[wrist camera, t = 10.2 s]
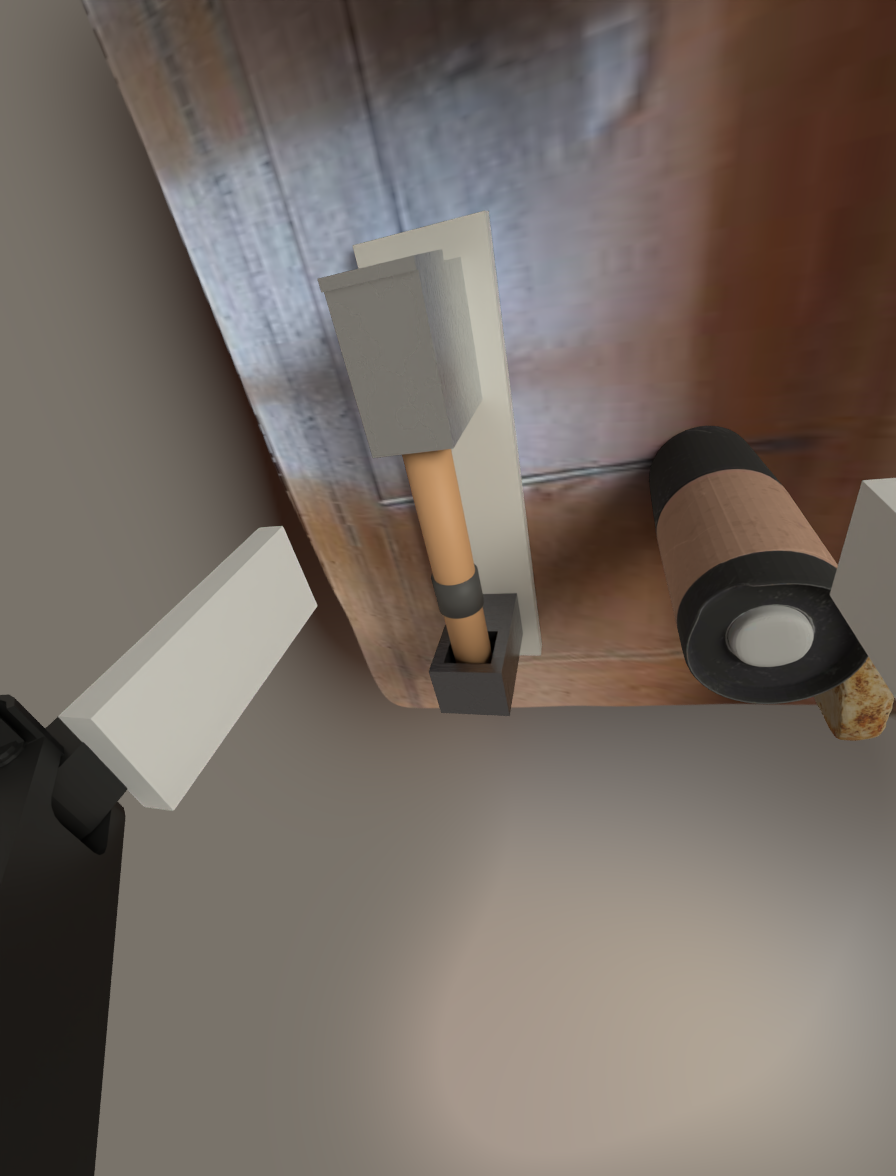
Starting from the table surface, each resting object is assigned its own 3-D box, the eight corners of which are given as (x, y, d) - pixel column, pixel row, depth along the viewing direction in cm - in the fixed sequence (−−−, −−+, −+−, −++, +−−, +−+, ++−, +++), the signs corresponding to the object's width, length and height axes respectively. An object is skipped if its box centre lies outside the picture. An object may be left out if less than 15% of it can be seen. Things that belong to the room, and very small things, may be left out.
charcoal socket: (456, 594, 48) (428, 671, 40) (517, 593, 47) (501, 673, 38) (465, 633, 51) (441, 712, 43) (522, 633, 49) (509, 715, 41)
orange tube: (401, 417, 33) (384, 435, 30) (453, 410, 32) (440, 428, 29) (461, 657, 45) (453, 686, 42) (500, 658, 44) (494, 687, 41)
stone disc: (842, 670, 45) (895, 764, 38) (795, 673, 47) (836, 764, 39) (852, 578, 40) (915, 665, 32) (798, 585, 41) (846, 670, 34)
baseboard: (360, 244, 34) (352, 245, 33) (488, 211, 31) (484, 210, 30) (459, 645, 54) (456, 654, 53) (542, 645, 52) (540, 655, 51)
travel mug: (743, 515, 39) (845, 713, 23) (640, 516, 41) (671, 699, 25) (767, 418, 35) (911, 582, 19) (650, 423, 37) (695, 577, 21)
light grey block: (384, 263, 33) (317, 278, 25) (458, 245, 31) (413, 255, 23) (417, 408, 38) (371, 459, 30) (482, 399, 37) (452, 450, 29)
